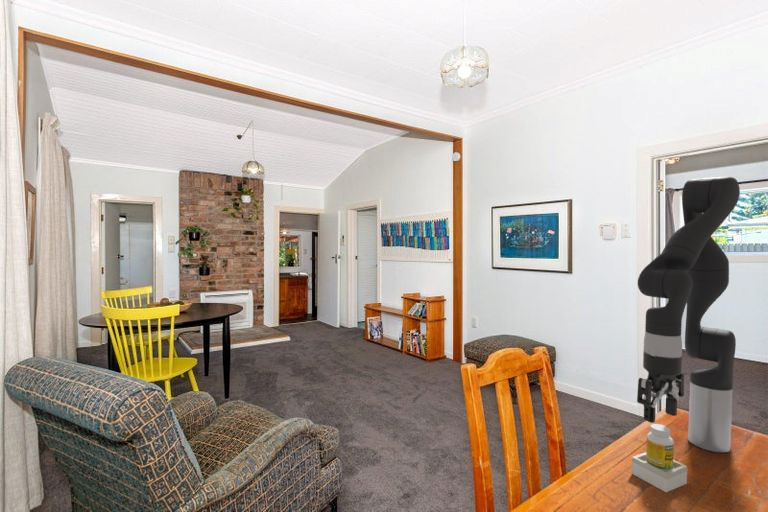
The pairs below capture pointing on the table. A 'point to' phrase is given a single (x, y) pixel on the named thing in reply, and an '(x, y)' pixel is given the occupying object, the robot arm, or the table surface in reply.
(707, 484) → the table surface
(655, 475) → the grey open box
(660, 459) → the supplement bottle
